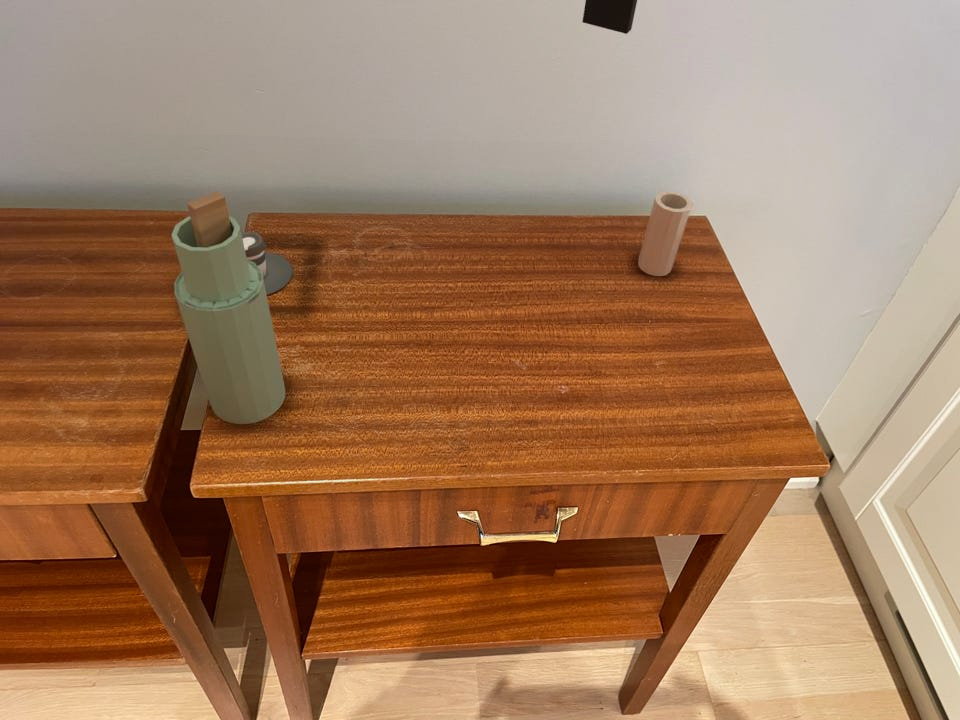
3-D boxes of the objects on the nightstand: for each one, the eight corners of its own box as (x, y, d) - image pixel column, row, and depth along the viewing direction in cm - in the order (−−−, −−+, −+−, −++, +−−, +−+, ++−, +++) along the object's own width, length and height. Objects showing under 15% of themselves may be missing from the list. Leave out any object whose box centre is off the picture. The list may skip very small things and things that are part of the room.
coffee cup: (314, 243, 85) (310, 207, 82) (303, 312, 77) (297, 276, 73) (209, 241, 84) (200, 205, 81) (186, 312, 76) (174, 275, 72)
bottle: (253, 435, 65) (209, 270, 52) (194, 405, 67) (137, 239, 54) (300, 387, 70) (271, 222, 56) (244, 360, 72) (202, 195, 58)
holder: (665, 280, 84) (686, 215, 78) (633, 268, 85) (650, 204, 79) (675, 262, 87) (696, 197, 80) (644, 251, 88) (662, 186, 81)
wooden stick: (265, 390, 68) (228, 198, 54) (241, 404, 67) (197, 211, 52) (253, 380, 69) (214, 188, 55) (229, 393, 68) (183, 200, 53)
